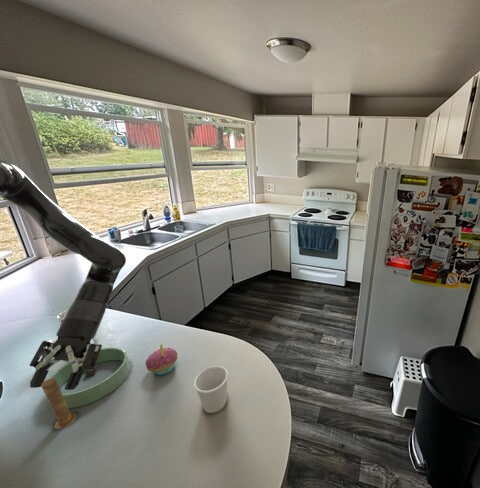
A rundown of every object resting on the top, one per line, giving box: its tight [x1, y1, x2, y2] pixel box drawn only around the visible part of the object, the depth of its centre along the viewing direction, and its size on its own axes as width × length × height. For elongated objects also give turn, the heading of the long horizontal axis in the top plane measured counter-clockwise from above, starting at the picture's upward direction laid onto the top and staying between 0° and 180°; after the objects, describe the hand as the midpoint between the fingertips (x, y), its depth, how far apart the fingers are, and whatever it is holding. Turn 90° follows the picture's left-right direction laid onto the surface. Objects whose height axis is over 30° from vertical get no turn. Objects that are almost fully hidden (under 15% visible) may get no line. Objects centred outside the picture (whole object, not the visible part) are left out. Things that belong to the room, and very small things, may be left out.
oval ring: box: [49, 347, 131, 409], centre depth 74 cm, size 17×17×6 cm
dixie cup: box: [193, 365, 229, 414], centre depth 68 cm, size 8×8×10 cm
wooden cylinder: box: [40, 377, 77, 430], centre depth 61 cm, size 4×4×14 cm
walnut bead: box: [84, 367, 97, 377], centre depth 76 cm, size 2×2×2 cm
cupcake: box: [145, 343, 179, 376], centre depth 78 cm, size 9×8×12 cm
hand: (52, 388), depth 60 cm, fingers open, 8 cm apart
